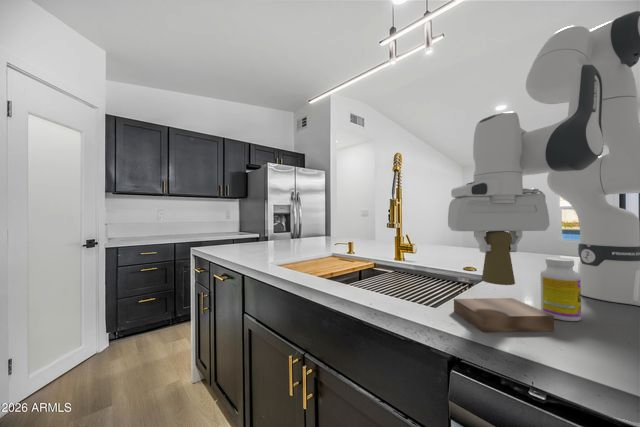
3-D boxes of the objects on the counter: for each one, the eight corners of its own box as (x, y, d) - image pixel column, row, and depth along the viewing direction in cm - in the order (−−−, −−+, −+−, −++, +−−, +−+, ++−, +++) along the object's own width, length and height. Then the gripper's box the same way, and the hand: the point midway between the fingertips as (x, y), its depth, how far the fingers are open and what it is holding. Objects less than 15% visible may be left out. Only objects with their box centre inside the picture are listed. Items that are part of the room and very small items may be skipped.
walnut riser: (512, 310, 62) (512, 298, 62) (554, 331, 51) (553, 315, 51) (453, 311, 62) (453, 298, 62) (483, 332, 51) (482, 316, 51)
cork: (522, 285, 54) (521, 231, 54) (490, 284, 54) (489, 231, 54) (505, 278, 60) (504, 230, 60) (476, 277, 60) (476, 230, 60)
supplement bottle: (585, 325, 54) (584, 262, 54) (544, 318, 58) (543, 260, 58) (576, 314, 60) (575, 258, 60) (538, 309, 63) (537, 255, 63)
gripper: (532, 189, 60) (533, 249, 60) (444, 190, 60) (444, 250, 60) (557, 186, 54) (558, 253, 54) (458, 187, 54) (459, 254, 54)
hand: (497, 252), depth 57 cm, fingers closed on cork, 4 cm apart
